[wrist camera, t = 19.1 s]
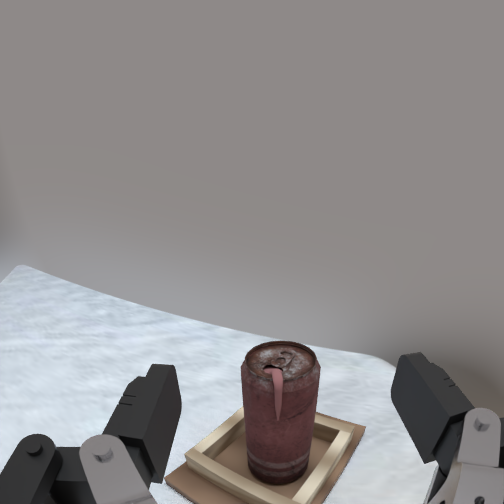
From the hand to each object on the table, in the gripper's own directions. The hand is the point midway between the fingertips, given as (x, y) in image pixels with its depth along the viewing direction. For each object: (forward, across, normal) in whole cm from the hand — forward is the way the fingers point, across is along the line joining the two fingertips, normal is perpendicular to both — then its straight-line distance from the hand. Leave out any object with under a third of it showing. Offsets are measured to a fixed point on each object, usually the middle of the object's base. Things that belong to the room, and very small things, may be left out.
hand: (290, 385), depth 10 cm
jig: (+12, 0, +21) cm, 24 cm away
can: (+11, -1, +20) cm, 23 cm away
